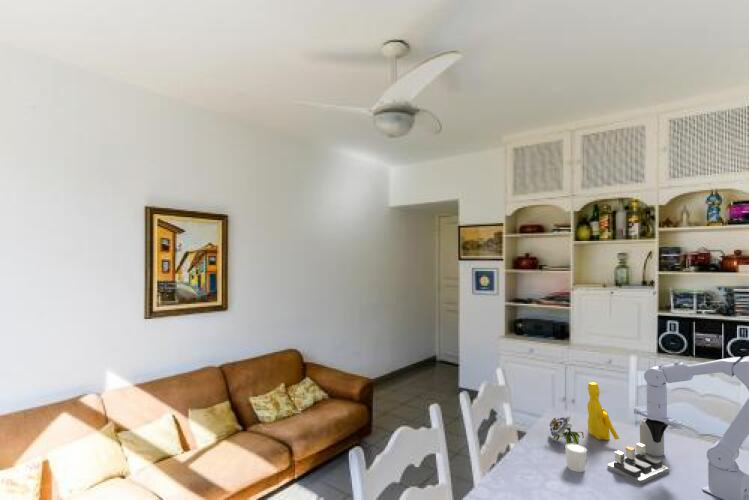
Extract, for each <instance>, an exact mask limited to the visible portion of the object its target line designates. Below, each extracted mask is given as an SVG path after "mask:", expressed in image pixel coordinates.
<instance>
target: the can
mask: <svg viewBox="0 0 749 500" xmlns="http://www.w3.org/2000/svg"><path fill="white" fill-rule="evenodd" d="M645 420H647V417H643V418H641V420H640V422H639V443H641V444H644V445H645V450H646V454H647V455H649V456H652V457H661V456H663V455H665V432H664V433H663V436H662V439H661V442H659V443H656V442H654V441H653V438H652V434H651V432H650V429H649V427H648V426H647V424H646V423H645Z"/></svg>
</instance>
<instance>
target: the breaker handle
mask: <svg viewBox="0 0 749 500" xmlns="http://www.w3.org/2000/svg"><path fill="white" fill-rule="evenodd" d="M635 454H636V448H634V447H631V446H626V447H625V457H627V458H629V459H631V460H632V459H634V458H635Z"/></svg>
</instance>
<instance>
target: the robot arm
mask: <svg viewBox="0 0 749 500" xmlns="http://www.w3.org/2000/svg"><path fill="white" fill-rule="evenodd" d="M718 373H723V374H725V375H727V376H729V377H731V378H733V376H735V377H736V378H737V379H738V380H739V381H740V382H741V383H742V384H744V385H745V387H746V389H747V390H748V392H749V355H747V356H743V357H741V356H734V357H726V358H721V359H717V360H716V359H715V360H710V361H705V362H702V363H701V362H700V363H697V364H696V363H695V364H688V363H686V362H680V361H679V360H677V361H674V362H673V363H670V364H665V365H663V364H658V366H657V365H655V366H652V367H650V368H648V369H646V370H645V371H644V373H643V379H644V380H645V382H646V409H645V408H641V407H637V406H636V407H633V414H634V415H638V416H639V415H640V416H642V417H644V418H647V420H645V423H646V424H647V426H648V427H649V429H650V432H651V434H652V438H653V441H654V442H656V443H659V442H661V439H662V436H663V433H664V434H665V431H666V429H667V427H668V426H670V427H673V428H675V429H677V430H681V429H683V422H681V421H678V420H676V419H674V418H673V417H671V416H668V400H667V399H668V398H667V397H668V395H667V393H668V392H667V383H668V384H672V383H673V384H674V383H678V382H679V383H680V382H687V381H688V382H689V381H691V380H692V379H693V378H694V376H701V375H702V376H703V375H711V374H718ZM748 437H749V397H748V398H747V400H746V401H745V402H744V404H743V405H742V407H741V409H740V410H739V412H738V413H737V415H735V418H734V419H733V420H732V422H731V423H730V425H729V427H728V428H727V429H726V431H725V432H724V434H723V435H722V436H721V437H720V438H718V439H716V440H715V441H713V443H712V445H711V447H710V448H709V449H707V451H706V458H707V476H708V477H707V479H708V484H707V485H706V486H704V487H702V489H701V490H702V491H704V492H706V493H708V494H711V495H712V496H715V497H717V498H719V499H721V500H749V474H747V473H745V472H744V471H742V470H741V469H740V467H739V465H738V463H737V461H736V459H737V458H738V457H739V456H740V448H741V446H742V444H744V442H745V440H747V438H748Z"/></svg>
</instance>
